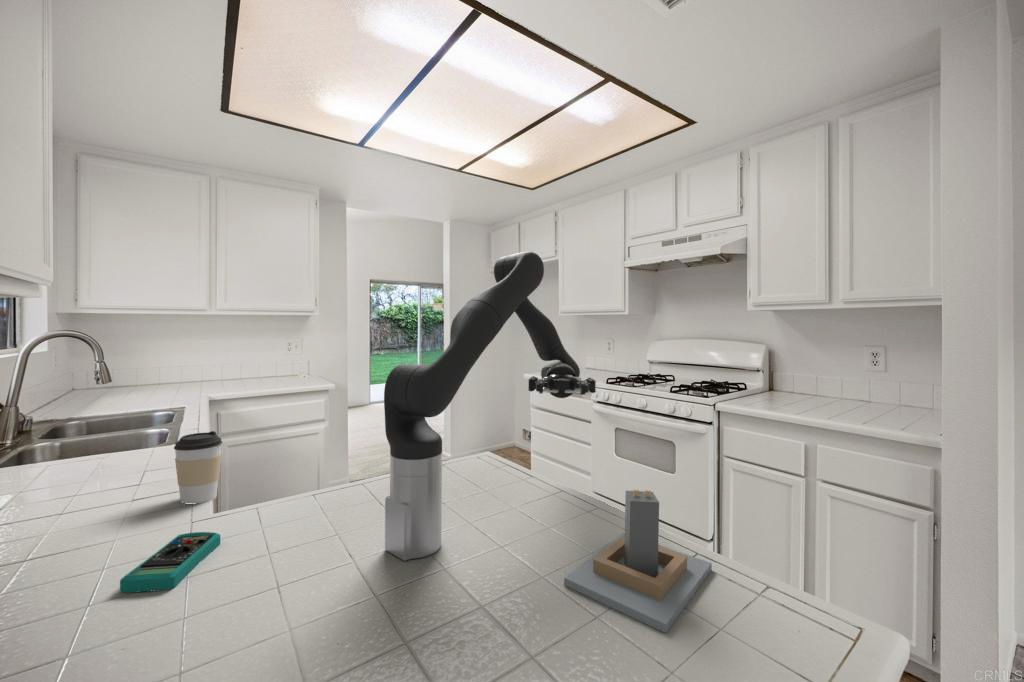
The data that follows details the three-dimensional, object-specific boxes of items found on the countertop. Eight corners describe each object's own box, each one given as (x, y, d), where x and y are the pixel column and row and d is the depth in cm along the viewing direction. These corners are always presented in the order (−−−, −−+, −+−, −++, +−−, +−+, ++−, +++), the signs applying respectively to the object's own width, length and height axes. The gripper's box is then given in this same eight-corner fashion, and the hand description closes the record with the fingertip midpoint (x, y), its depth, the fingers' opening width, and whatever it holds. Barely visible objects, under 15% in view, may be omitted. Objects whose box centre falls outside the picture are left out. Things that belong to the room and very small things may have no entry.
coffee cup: (184, 510, 93) (184, 441, 92) (167, 500, 98) (166, 435, 97) (230, 496, 100) (229, 433, 100) (211, 488, 105) (211, 427, 105)
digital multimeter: (223, 544, 79) (223, 528, 79) (172, 593, 64) (172, 573, 64) (179, 547, 78) (178, 531, 78) (117, 597, 63) (117, 577, 63)
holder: (666, 633, 56) (666, 609, 56) (564, 585, 67) (564, 565, 67) (711, 570, 72) (711, 551, 71) (622, 539, 82) (622, 522, 82)
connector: (628, 576, 67) (630, 494, 67) (624, 561, 72) (625, 484, 71) (657, 578, 67) (659, 496, 66) (651, 563, 71) (652, 485, 71)
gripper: (531, 363, 103) (527, 369, 87) (591, 364, 102) (598, 371, 86) (531, 394, 103) (526, 406, 87) (591, 396, 102) (597, 408, 86)
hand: (562, 388), depth 86 cm, fingers open, 8 cm apart
